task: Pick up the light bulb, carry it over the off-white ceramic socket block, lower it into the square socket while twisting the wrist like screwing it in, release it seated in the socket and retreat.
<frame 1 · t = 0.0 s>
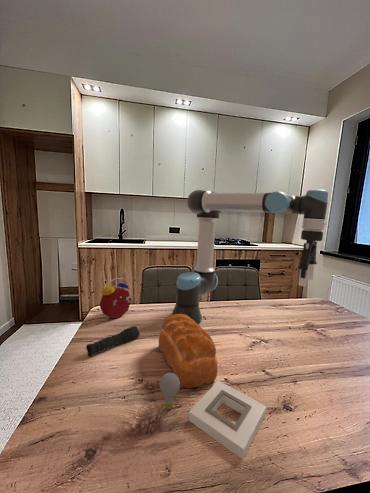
hand: (305, 282, 95), 28 cm above the table, fingers open, 13 cm apart
flashlight: (114, 346, 92), on the table
alarm clock: (117, 317, 117), on the table
socket block: (227, 417, 62), on the table
light bulb: (168, 408, 64), on the table
bread: (185, 362, 85), on the table
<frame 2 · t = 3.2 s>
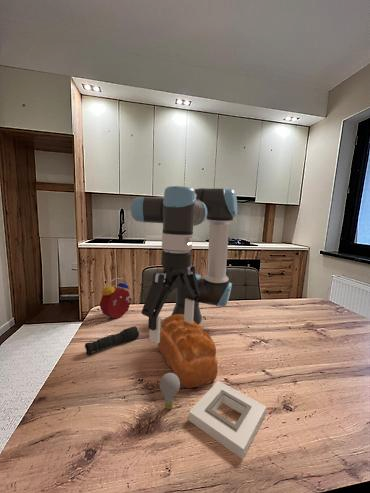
hand: (172, 330, 61), 23 cm above the table, fingers open, 13 cm apart
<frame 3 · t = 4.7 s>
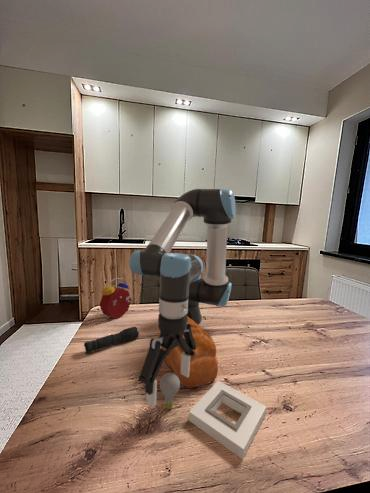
hand: (169, 388, 63), 6 cm above the table, fingers open, 13 cm apart
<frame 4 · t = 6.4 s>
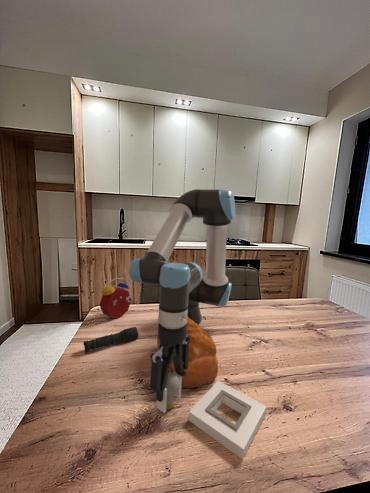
hand: (169, 402, 64), 2 cm above the table, fingers closed on light bulb, 5 cm apart
light bulb: (168, 408, 64), on the table, touching gripper
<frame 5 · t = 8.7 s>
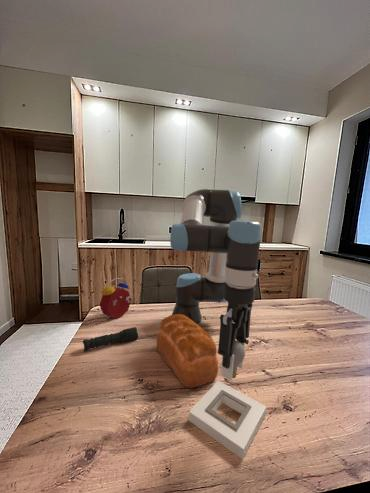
hand: (232, 371, 60), 14 cm above the table, fingers closed on light bulb, 5 cm apart
light bulb: (231, 378, 60), point 12 cm above the table, touching gripper
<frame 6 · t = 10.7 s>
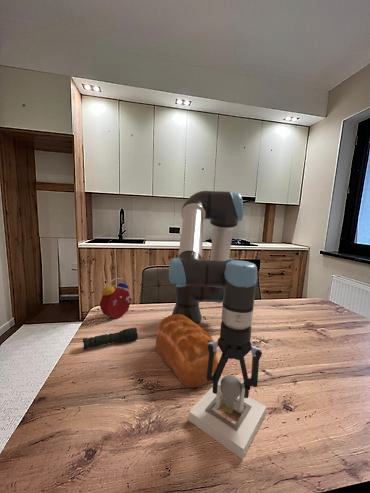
hand: (228, 405, 62), 4 cm above the table, fingers closed on light bulb, 5 cm apart
light bulb: (228, 411, 62), point 2 cm above the table, touching gripper
when the fingers open (4 cm above the table, at t = 11.1 s): light bulb drops 2 cm, resting in socket block.
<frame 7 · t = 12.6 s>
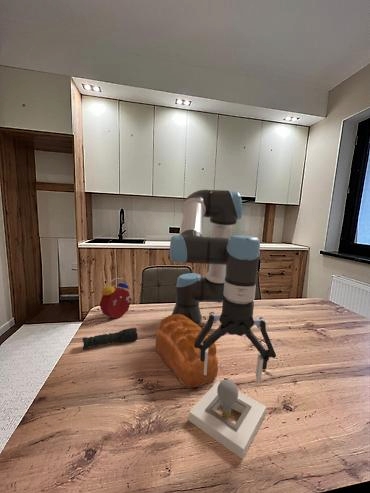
hand: (231, 375, 61), 12 cm above the table, fingers open, 13 cm apart
light bulb: (226, 417, 62), resting in socket block
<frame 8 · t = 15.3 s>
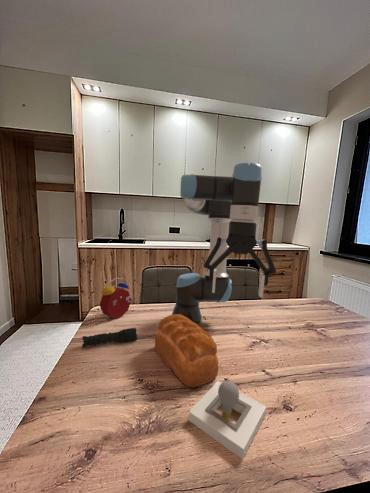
hand: (236, 293, 68), 31 cm above the table, fingers open, 13 cm apart
at the end: light bulb 0.4 cm off-centre on the socket block, point 0.0 cm above the socket block's base; light bulb touching table; the gripper is holding nothing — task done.
